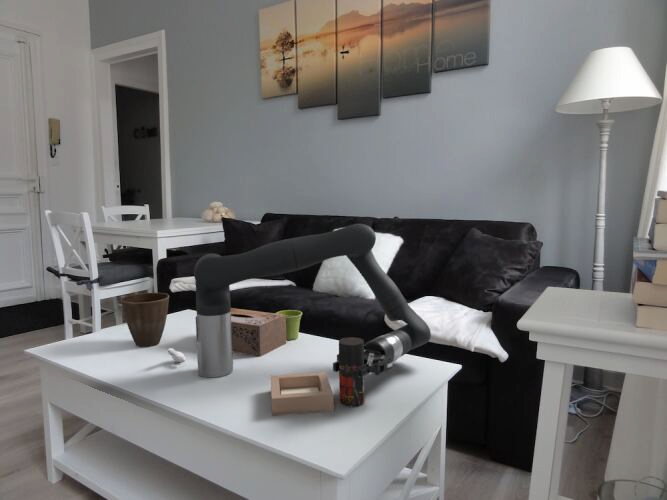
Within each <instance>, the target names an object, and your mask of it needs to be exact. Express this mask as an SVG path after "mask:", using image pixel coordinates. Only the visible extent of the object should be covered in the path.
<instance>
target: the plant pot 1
mask: <svg viewBox="0 0 667 500" xmlns="http://www.w3.org/2000/svg"><path fill="white" fill-rule="evenodd" d="M169 301H170V295H169V293H164V292H145V293H136V294H130V295H126V296H124V297H122V298H121V299H120V302H121V307H122V310H123V315H124V319H125V322H126V325H127V328H128V330H129V333H130V335H131V337H132V340H133V341H134V344H135V346H136V347H139V348H150V347H156V346H157V345H159V344H160V343H161V340H162V337H163V333H164V331H165V326H166V322H167V317H168V312H169V311H168V310H169Z"/></svg>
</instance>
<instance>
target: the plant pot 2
mask: <svg viewBox="0 0 667 500" xmlns="http://www.w3.org/2000/svg"><path fill="white" fill-rule="evenodd" d="M275 314H283V315H286V341H292V340H297V339H298V338H299V331H300V322H301V320H302V319H301V318H302V315H303V312H302V311H300V310H297V309H296V310H295V309H293V310H292V309H287V310H285V309H284V310H280V311H277V312H275Z"/></svg>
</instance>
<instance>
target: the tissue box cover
mask: <svg viewBox="0 0 667 500" xmlns="http://www.w3.org/2000/svg"><path fill="white" fill-rule="evenodd" d="M275 313H276V312H275ZM275 313H273V312H266V311H265V312H264V311H257V310H250V309H249V310H248V309H242V308H241V309H240V308H235V307H231V329H232V353H238V354H243V355H249V356H255V357H263V356H265V355H267V354H269V353H270V352H273V351H274V350H276V349H278V348H280V347H282V346H284V345H286V344H287V340H286V315H283V314H275ZM195 331H196V333H195V334H196V342H197V341H198V330H197V315H195Z"/></svg>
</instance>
